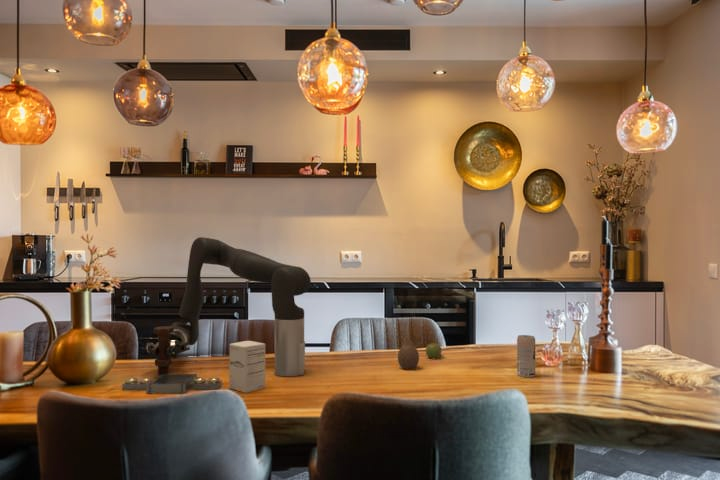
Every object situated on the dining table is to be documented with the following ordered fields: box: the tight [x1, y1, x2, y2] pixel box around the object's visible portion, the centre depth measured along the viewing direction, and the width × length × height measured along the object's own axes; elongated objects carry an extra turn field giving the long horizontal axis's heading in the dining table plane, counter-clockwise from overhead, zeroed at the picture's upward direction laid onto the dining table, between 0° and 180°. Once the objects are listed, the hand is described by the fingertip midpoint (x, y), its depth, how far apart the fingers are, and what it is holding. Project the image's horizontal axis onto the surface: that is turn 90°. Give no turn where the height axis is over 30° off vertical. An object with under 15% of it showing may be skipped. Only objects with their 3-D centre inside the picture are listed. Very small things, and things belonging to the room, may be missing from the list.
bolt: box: [152, 325, 174, 377], centre depth 162 cm, size 6×5×15 cm
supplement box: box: [228, 340, 266, 394], centre depth 149 cm, size 7×7×13 cm
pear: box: [425, 343, 443, 359], centre depth 191 cm, size 6×5×10 cm
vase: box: [397, 340, 420, 370], centre depth 173 cm, size 7×7×9 cm
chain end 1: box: [121, 374, 184, 395], centre depth 149 cm, size 18×11×3 cm, turn 92°
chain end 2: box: [163, 373, 223, 394], centre depth 149 cm, size 18×11×3 cm, turn 92°
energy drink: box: [516, 334, 536, 379], centre depth 163 cm, size 5×5×12 cm
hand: (161, 352), depth 159 cm, fingers closed on bolt, 3 cm apart
